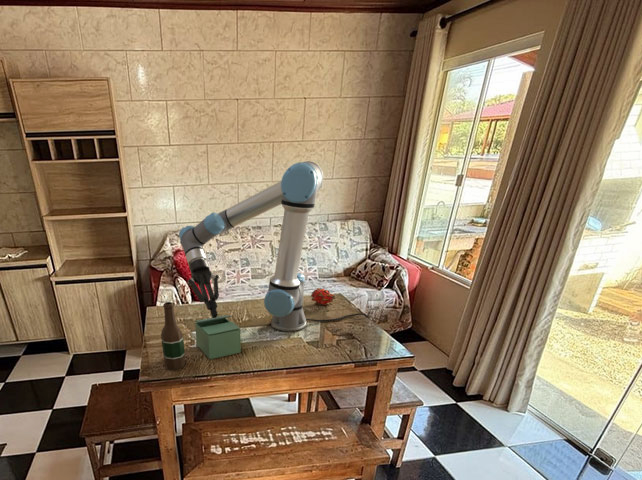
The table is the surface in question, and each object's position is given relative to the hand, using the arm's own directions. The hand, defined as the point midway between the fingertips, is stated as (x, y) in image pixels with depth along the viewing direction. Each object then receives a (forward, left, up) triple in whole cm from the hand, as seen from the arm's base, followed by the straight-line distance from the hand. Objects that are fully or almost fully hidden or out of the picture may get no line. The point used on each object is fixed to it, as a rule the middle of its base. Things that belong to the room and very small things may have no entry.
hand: (215, 316), depth 156 cm
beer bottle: (+13, +16, -13) cm, 25 cm away
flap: (+1, -2, -2) cm, 3 cm away
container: (-1, +1, -13) cm, 13 cm away
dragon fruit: (-46, -52, -13) cm, 70 cm away
